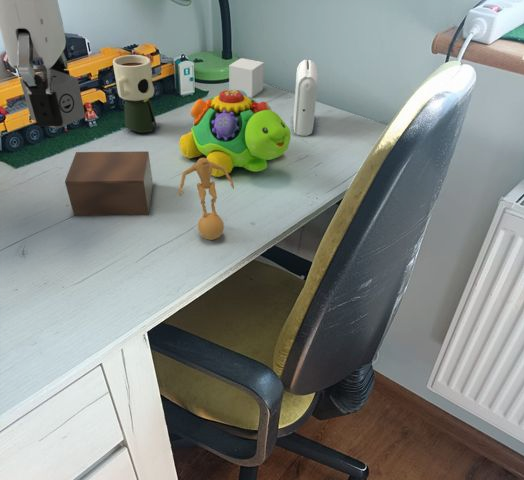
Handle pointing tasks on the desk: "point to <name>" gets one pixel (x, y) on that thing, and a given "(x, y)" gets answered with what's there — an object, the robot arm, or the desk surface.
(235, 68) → the white cube
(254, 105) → the turtle toy
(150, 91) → the character mug
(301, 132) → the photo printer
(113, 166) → the walnut block
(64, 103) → the dice cube
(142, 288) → the desk surface
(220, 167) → the figurine
